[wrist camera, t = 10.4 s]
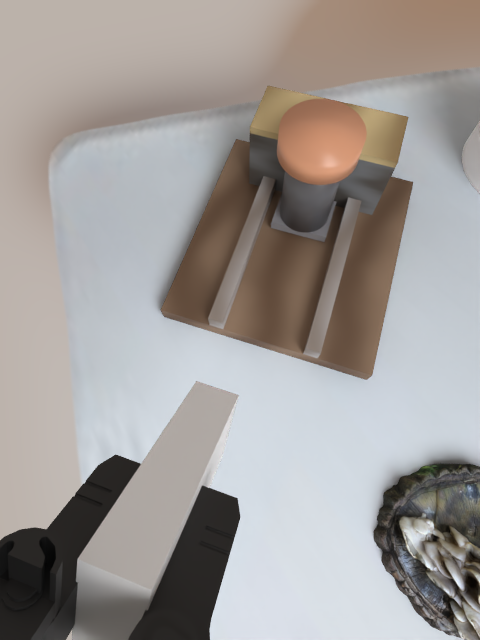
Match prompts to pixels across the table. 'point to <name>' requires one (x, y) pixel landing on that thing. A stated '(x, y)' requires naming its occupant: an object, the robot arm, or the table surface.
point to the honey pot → (472, 158)
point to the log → (436, 544)
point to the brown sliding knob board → (297, 250)
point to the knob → (315, 163)
